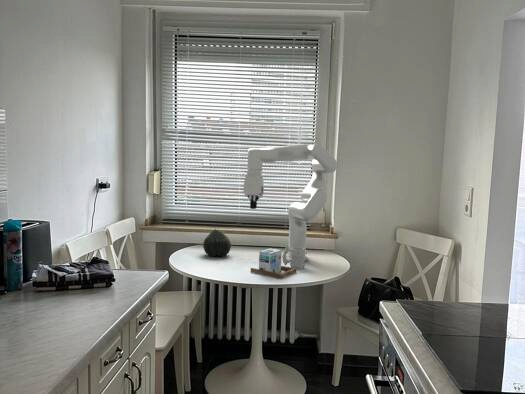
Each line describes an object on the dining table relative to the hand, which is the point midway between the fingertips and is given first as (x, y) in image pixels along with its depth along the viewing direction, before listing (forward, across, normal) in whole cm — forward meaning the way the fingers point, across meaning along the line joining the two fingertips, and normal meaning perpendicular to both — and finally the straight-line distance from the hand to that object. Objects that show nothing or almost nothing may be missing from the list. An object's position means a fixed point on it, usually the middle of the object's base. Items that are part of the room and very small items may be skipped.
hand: (253, 208), depth 231 cm
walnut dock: (+29, +17, -6) cm, 34 cm away
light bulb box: (+29, +16, -7) cm, 34 cm away
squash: (+29, -26, +3) cm, 39 cm away
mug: (+29, +20, +9) cm, 37 cm away
